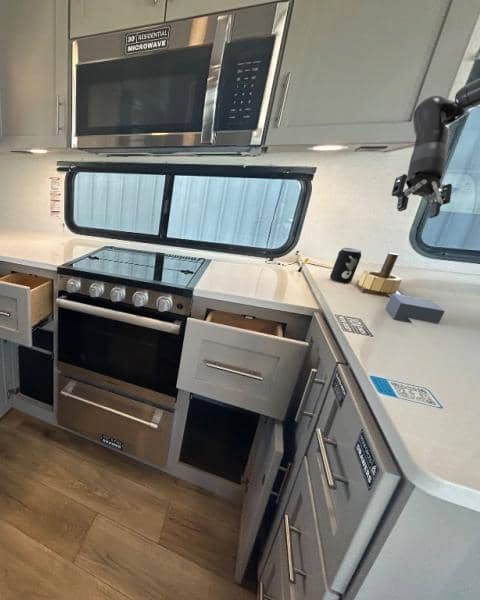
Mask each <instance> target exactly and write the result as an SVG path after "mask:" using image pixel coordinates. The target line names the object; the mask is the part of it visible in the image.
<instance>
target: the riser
mask: <svg viewBox="0 0 480 600" xmlns="http://www.w3.org/2000/svg"><path fill="white" fill-rule="evenodd" d="M385 308H386V309H387V310H388V311H387V310H386V309H385V310H386V311H387V313H388V312H389V313H390V314H389V313H388V314H389V315H390V317H391V316H392V317H391V318H392V320H395V321H400V322H405V323H411V324H412V323H413V322H412V320H417V321H421V322H427V323H432V324H436V325H439V324H440V321H441V320H442V317H443V316H444V314H445V312H446V311H445V309H443V308H442V307H441V306H440V305H439V304H437V303H436V302H435V301H434V300H433V299H427V298H423V297H422V298H421V297H415V296H409V295H404V294H401V295H399V294H393V293H392V294H390V297H389V300H388V302H387V304H386V306H385Z"/></svg>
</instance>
